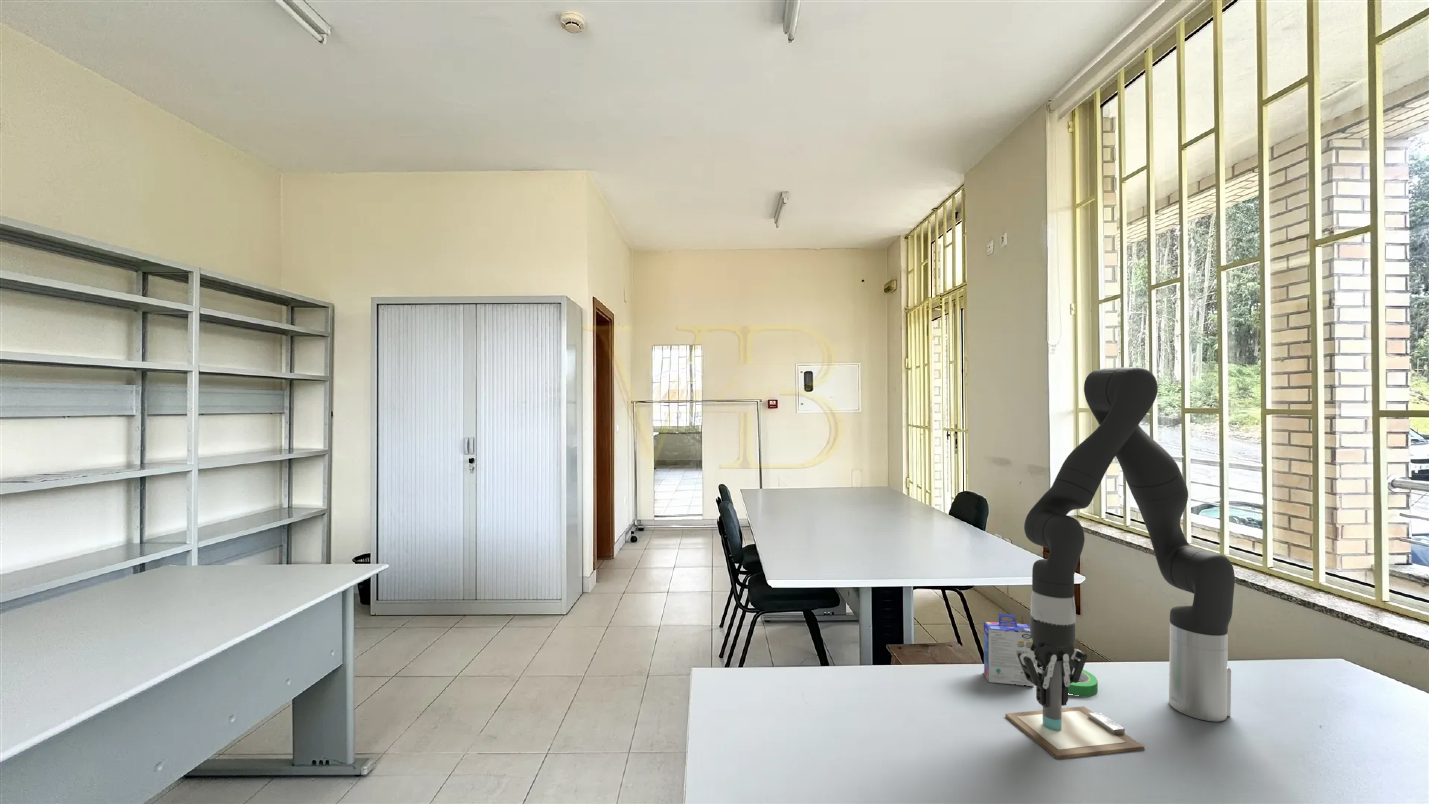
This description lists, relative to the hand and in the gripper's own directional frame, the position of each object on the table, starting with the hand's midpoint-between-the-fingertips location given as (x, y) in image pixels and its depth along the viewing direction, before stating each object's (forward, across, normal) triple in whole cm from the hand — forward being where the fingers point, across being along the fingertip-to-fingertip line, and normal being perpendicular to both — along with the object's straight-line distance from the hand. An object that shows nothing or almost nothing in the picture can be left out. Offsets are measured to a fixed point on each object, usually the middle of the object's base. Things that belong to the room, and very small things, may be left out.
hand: (1052, 704), depth 113 cm
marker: (+4, 0, 0) cm, 4 cm away
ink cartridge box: (+5, -5, -20) cm, 21 cm away
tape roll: (+6, -17, -16) cm, 24 cm away
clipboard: (+5, -3, +1) cm, 6 cm away
